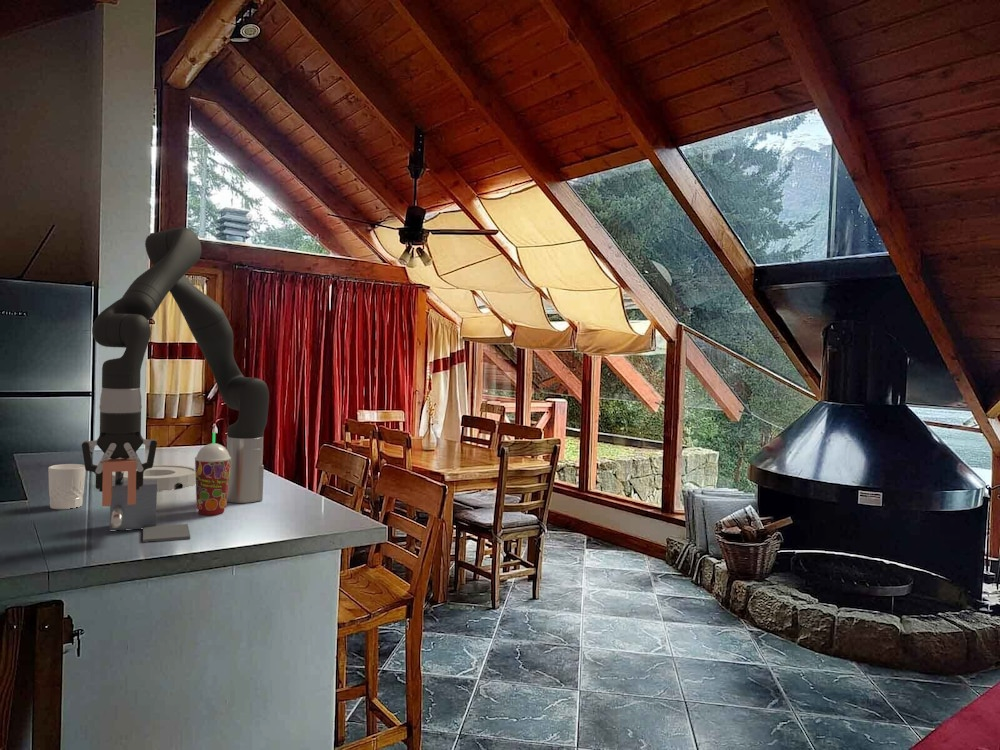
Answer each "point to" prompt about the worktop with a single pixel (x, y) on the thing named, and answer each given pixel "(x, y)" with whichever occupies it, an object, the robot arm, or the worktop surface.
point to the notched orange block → (108, 468)
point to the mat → (166, 532)
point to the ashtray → (167, 476)
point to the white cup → (66, 485)
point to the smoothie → (212, 478)
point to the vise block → (136, 513)
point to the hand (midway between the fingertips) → (119, 489)
